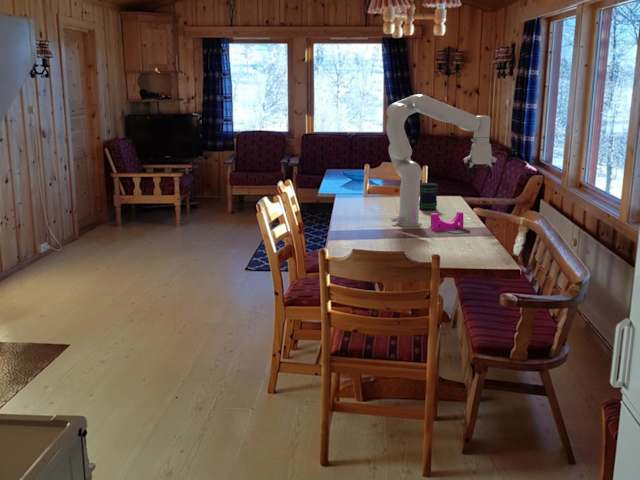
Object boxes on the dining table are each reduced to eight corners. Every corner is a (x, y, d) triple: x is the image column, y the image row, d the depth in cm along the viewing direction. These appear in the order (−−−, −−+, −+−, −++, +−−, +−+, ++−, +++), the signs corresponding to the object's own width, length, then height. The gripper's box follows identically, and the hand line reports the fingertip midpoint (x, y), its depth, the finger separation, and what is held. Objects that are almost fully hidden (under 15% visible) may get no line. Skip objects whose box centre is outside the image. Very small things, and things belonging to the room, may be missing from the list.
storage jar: (423, 212, 355) (424, 185, 352) (416, 209, 364) (417, 182, 361) (439, 211, 358) (440, 184, 354) (432, 208, 367) (433, 182, 364)
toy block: (434, 230, 305) (434, 215, 304) (430, 228, 311) (430, 213, 310) (465, 229, 306) (465, 213, 305) (461, 227, 312) (460, 211, 311)
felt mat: (455, 234, 297) (455, 233, 297) (429, 227, 312) (429, 226, 312) (466, 232, 301) (466, 231, 301) (439, 226, 316) (439, 225, 316)
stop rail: (468, 232, 301) (468, 230, 300) (439, 225, 317) (439, 223, 317) (470, 232, 301) (470, 229, 301) (440, 225, 318) (440, 223, 317)
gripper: (468, 141, 314) (466, 176, 317) (501, 141, 317) (498, 175, 320) (461, 140, 321) (460, 174, 325) (494, 140, 324) (492, 174, 328)
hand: (479, 175), depth 323 cm, fingers open, 9 cm apart
